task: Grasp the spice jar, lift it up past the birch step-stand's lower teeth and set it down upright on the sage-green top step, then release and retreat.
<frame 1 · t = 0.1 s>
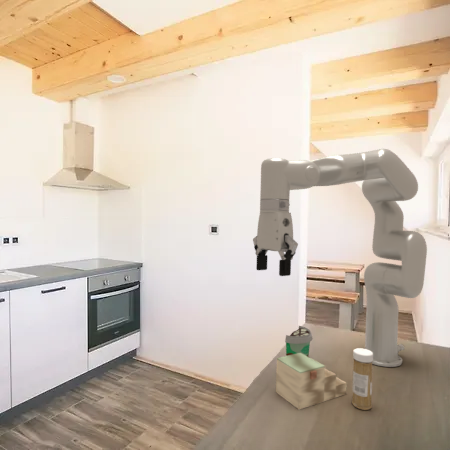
hand: (272, 272, 88), 31 cm above the table, fingers open, 9 cm apart
step stand: (299, 396, 86), on the table
food container: (301, 364, 106), on the table
spice jar: (361, 406, 83), on the table
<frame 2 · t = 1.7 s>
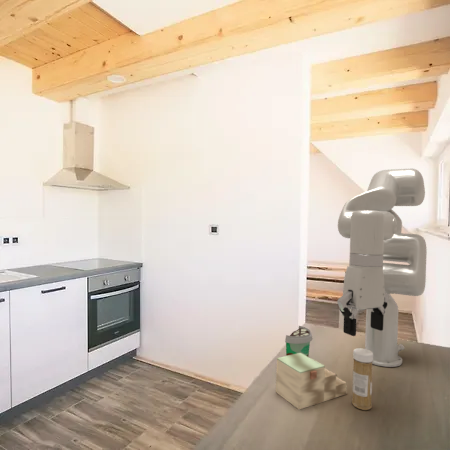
hand: (363, 331, 82), 18 cm above the table, fingers open, 9 cm apart
nothing on the table moved.
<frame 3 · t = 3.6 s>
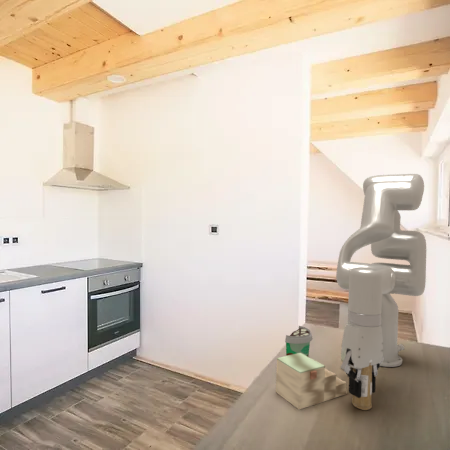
hand: (361, 391, 83), 3 cm above the table, fingers closed on spice jar, 4 cm apart
spice jar: (361, 406, 83), on the table, touching gripper
everything else where it was.
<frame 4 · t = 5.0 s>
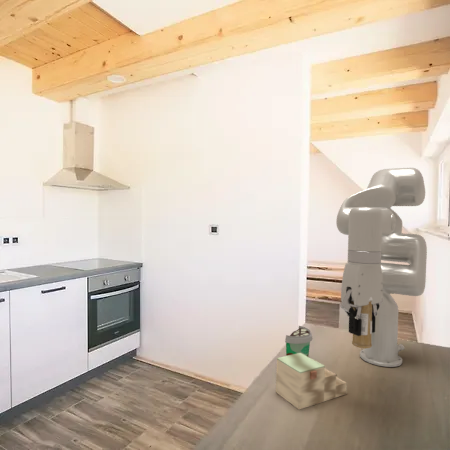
hand: (361, 331, 83), 18 cm above the table, fingers closed on spice jar, 4 cm apart
spice jar: (361, 346, 83), point 15 cm above the table, touching gripper
everything else where it was.
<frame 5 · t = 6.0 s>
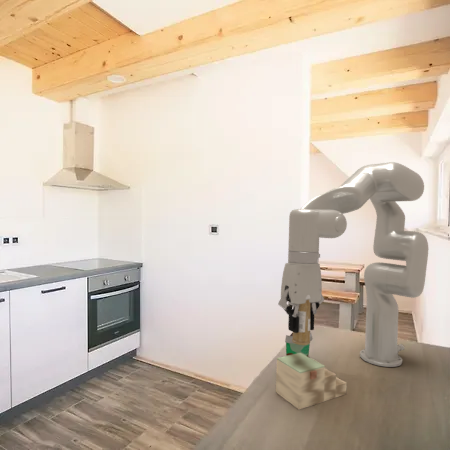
hand: (301, 329, 86), 17 cm above the table, fingers closed on spice jar, 4 cm apart
spice jar: (300, 343, 86), point 14 cm above the table, touching gripper
everything else where it was.
when the fingers open (14 cm above the table, at t = 6.8 s): spice jar drops 2 cm, resting on step stand.
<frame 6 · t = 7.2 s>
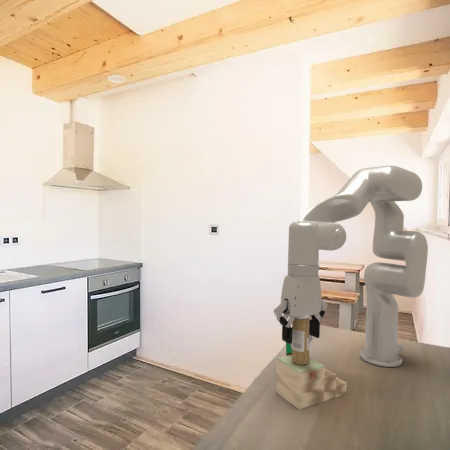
hand: (300, 338, 86), 15 cm above the table, fingers open, 8 cm apart
spice jar: (300, 362, 86), point 9 cm above the table, touching step stand
everything else where it was.
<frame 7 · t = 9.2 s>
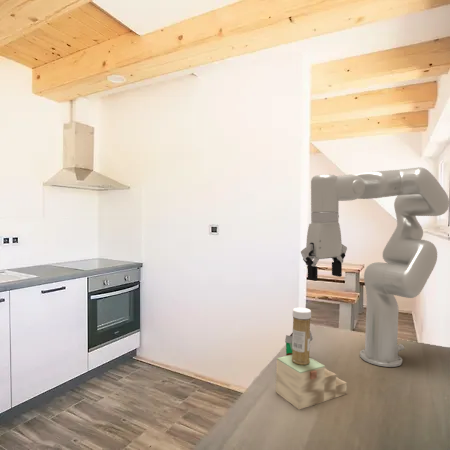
hand: (324, 277, 97), 29 cm above the table, fingers open, 9 cm apart
nothing on the table moved.
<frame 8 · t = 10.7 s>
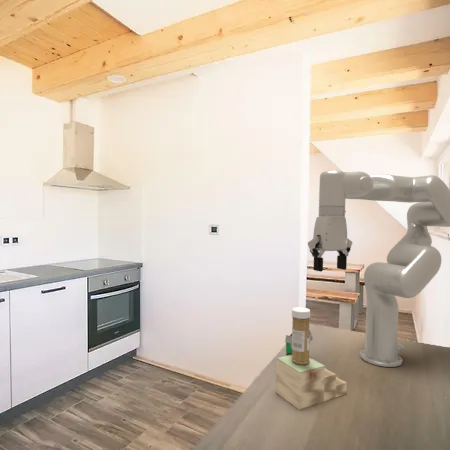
hand: (330, 269, 101), 30 cm above the table, fingers open, 9 cm apart
nothing on the table moved.
at the end: spice jar inside the target area on the step stand (0.0 cm from its centre), point 8.8 cm above the step stand's base; spice jar tilted 0°; the gripper is holding nothing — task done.
